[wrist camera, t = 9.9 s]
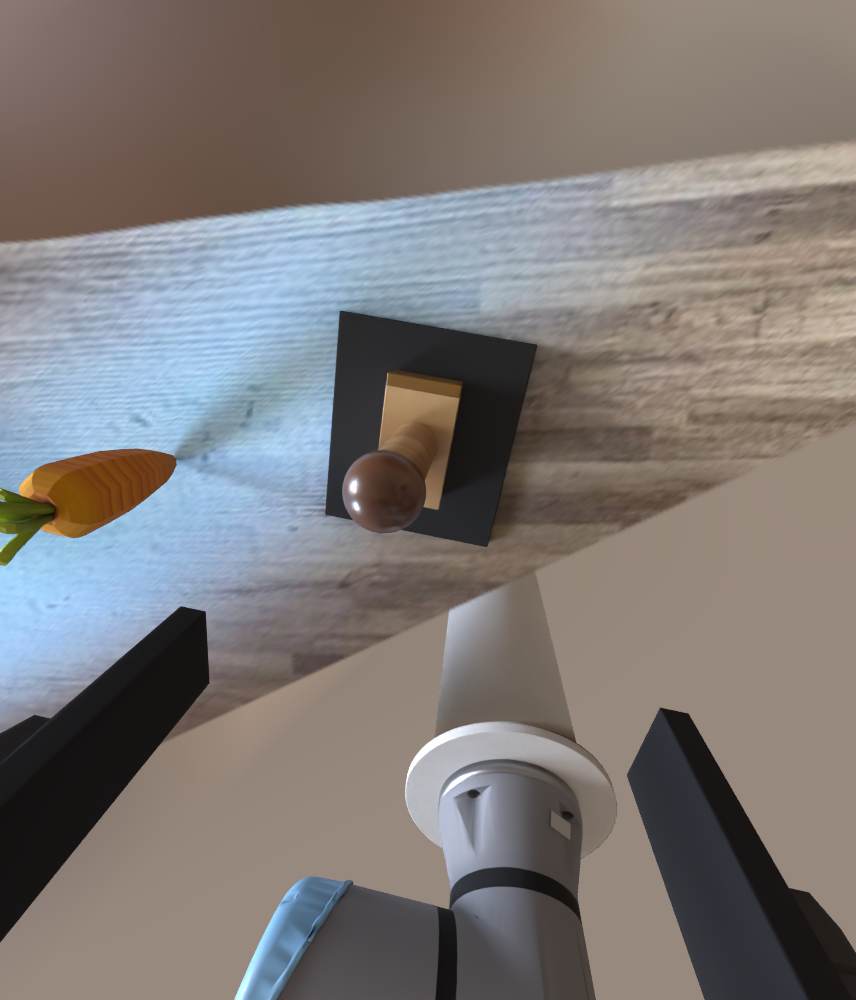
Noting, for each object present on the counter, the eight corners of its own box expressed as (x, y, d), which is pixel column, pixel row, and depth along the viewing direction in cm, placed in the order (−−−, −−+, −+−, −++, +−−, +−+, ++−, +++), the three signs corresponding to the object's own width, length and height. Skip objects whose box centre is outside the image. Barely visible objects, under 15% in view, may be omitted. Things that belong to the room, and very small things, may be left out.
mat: (487, 543, 35) (487, 547, 34) (328, 511, 35) (324, 514, 35) (535, 344, 29) (537, 344, 28) (343, 311, 29) (339, 310, 29)
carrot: (190, 496, 36) (12, 592, 23) (140, 466, 36) (-74, 545, 22) (209, 451, 35) (27, 526, 21) (156, 419, 34) (-67, 473, 20)
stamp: (396, 369, 30) (325, 392, 16) (463, 381, 29) (449, 415, 16) (381, 484, 33) (313, 581, 19) (442, 496, 33) (415, 603, 19)
